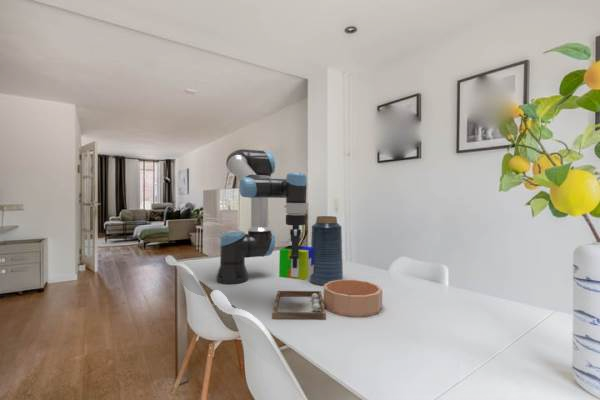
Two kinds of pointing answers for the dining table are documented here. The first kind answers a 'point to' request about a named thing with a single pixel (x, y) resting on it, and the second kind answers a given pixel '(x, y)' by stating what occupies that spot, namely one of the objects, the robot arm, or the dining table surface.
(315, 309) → the pebble
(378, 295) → the bowl
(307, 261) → the puzzle toy
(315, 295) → the pebble
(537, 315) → the dining table surface
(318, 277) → the blue thread spool
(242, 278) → the robot arm
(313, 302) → the pebble
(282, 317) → the tray
